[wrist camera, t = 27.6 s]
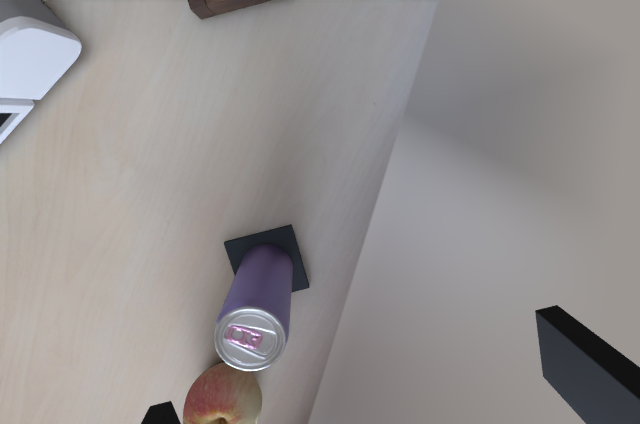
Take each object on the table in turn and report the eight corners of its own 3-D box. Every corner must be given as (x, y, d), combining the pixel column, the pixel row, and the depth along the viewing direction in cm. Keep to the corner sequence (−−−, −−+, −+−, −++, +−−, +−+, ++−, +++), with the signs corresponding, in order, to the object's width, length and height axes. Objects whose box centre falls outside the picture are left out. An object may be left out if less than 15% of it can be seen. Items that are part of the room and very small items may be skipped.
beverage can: (251, 234, 43) (225, 295, 29) (300, 252, 44) (299, 320, 29) (234, 280, 44) (201, 360, 30) (282, 296, 45) (272, 382, 31)
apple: (191, 403, 49) (170, 457, 41) (201, 344, 47) (181, 389, 39) (258, 413, 50) (249, 469, 42) (271, 356, 48) (264, 403, 40)
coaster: (291, 224, 44) (291, 225, 43) (309, 285, 46) (309, 287, 45) (224, 241, 44) (223, 243, 43) (245, 302, 46) (244, 304, 45)
